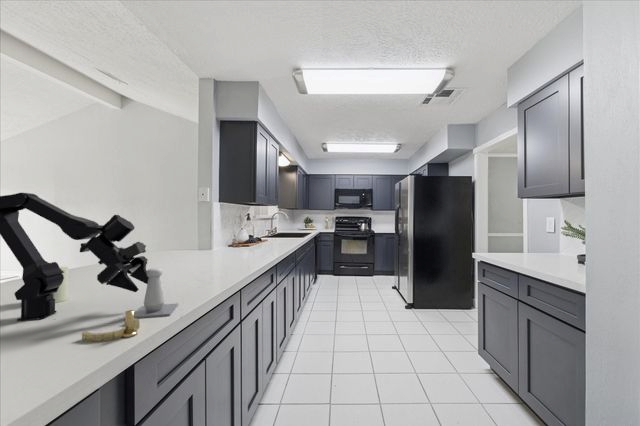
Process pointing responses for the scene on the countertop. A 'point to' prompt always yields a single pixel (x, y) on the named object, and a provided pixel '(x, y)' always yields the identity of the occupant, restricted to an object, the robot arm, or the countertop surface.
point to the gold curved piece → (127, 332)
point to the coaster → (164, 311)
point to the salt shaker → (154, 291)
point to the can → (62, 287)
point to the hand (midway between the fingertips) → (144, 287)
